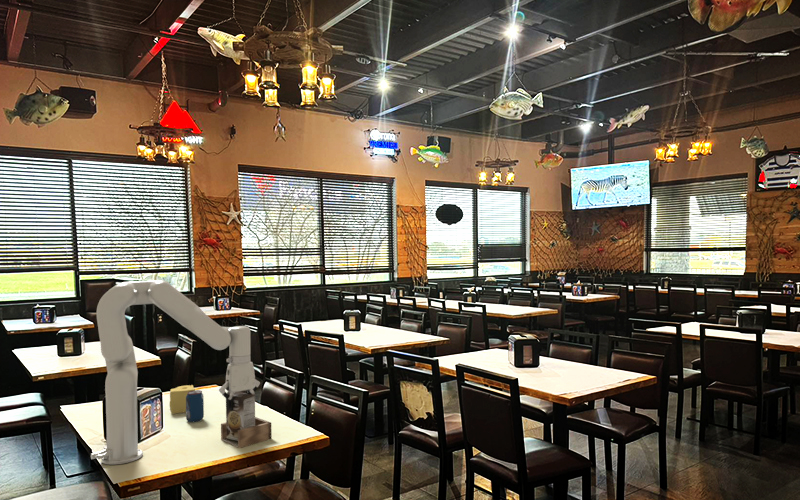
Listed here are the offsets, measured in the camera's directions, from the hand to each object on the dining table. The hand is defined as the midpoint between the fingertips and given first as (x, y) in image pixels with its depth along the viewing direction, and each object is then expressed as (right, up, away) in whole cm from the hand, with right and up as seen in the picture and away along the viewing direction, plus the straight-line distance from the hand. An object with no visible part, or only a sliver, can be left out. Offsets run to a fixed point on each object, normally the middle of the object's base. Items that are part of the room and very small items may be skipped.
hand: (240, 407), depth 203 cm
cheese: (-39, -14, +43) cm, 59 cm away
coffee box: (0, -12, 0) cm, 12 cm away
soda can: (-27, -14, +26) cm, 40 cm away
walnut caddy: (+2, -12, +1) cm, 13 cm away
